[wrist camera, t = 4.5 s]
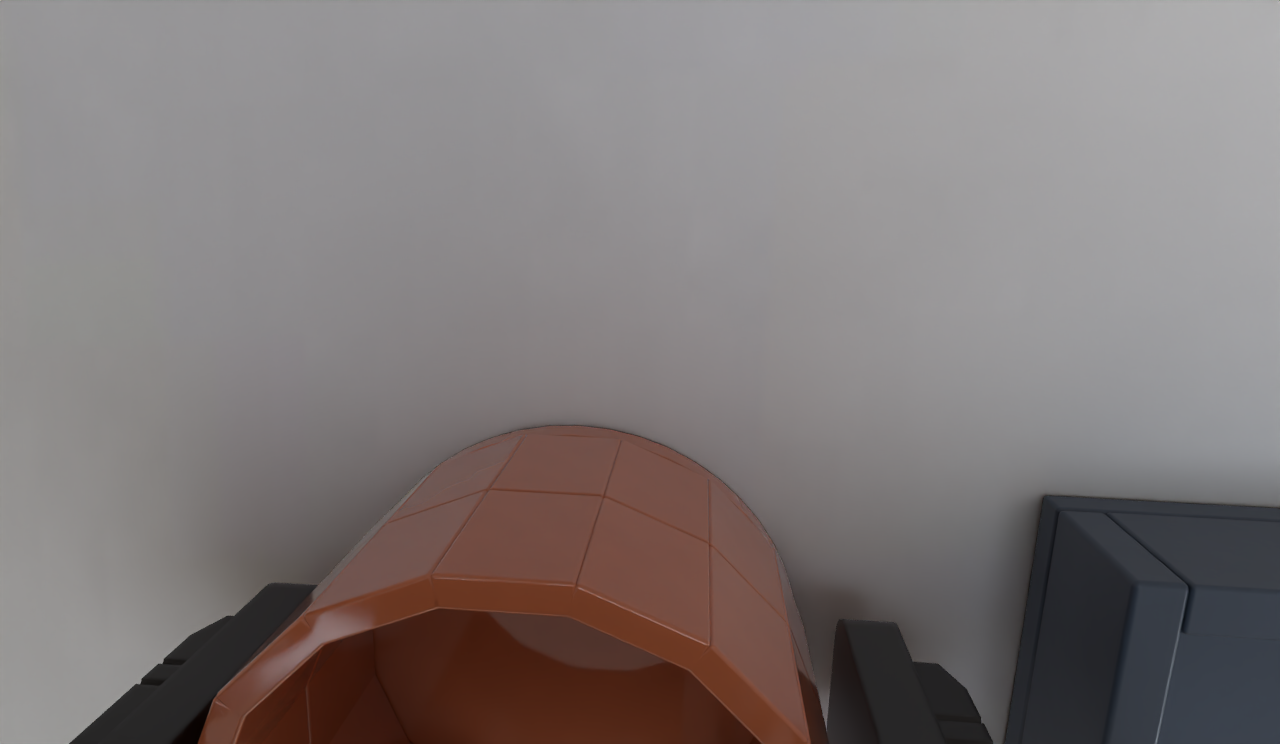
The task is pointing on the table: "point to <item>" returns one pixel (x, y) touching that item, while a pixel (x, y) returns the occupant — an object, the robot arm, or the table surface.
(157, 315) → the table surface
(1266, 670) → the tray
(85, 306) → the table surface
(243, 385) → the table surface
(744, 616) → the big bowl
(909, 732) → the robot arm
